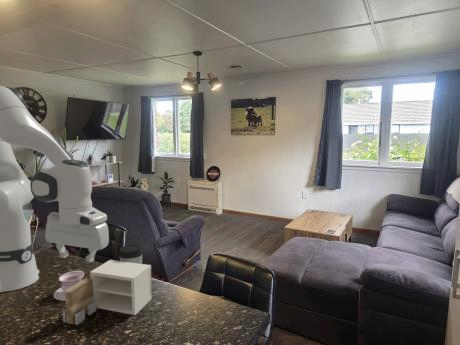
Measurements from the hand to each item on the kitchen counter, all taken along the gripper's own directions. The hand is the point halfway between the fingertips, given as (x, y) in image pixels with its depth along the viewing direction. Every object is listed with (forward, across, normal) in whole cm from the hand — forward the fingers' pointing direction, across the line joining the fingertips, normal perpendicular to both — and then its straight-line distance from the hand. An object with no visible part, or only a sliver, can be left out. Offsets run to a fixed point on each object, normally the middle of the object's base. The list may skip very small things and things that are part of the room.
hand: (76, 259), depth 91 cm
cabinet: (+18, +8, +6) cm, 20 cm away
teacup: (+19, -12, +11) cm, 25 cm away
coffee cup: (+18, +6, +20) cm, 27 cm away
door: (+18, +1, 0) cm, 18 cm away
